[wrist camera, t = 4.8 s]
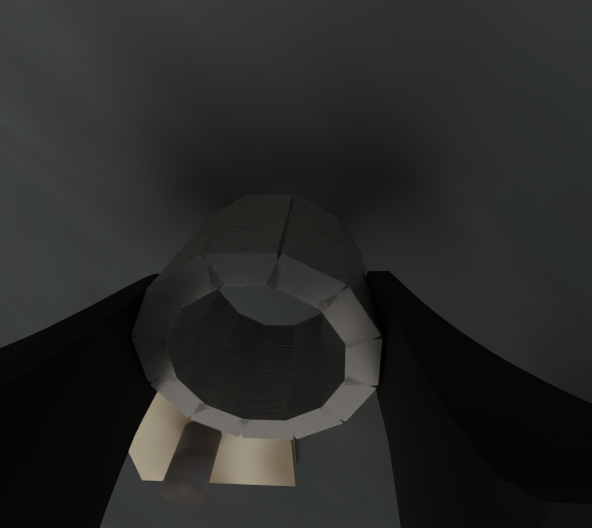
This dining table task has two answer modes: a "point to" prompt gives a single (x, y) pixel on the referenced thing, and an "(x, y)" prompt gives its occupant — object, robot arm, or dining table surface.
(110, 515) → the dining table surface
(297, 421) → the steel ring
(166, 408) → the post stand
